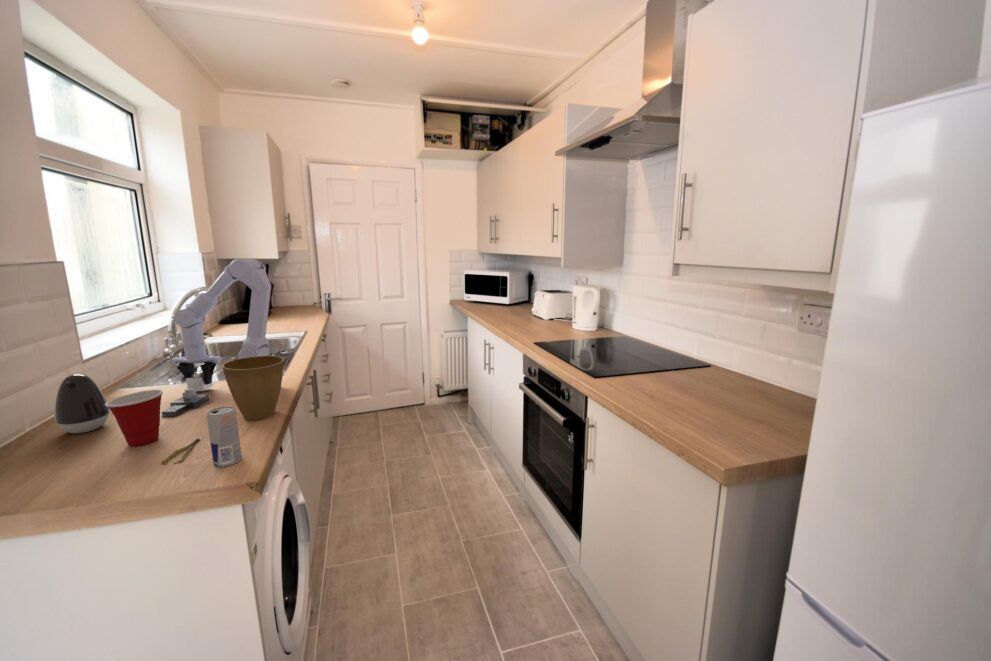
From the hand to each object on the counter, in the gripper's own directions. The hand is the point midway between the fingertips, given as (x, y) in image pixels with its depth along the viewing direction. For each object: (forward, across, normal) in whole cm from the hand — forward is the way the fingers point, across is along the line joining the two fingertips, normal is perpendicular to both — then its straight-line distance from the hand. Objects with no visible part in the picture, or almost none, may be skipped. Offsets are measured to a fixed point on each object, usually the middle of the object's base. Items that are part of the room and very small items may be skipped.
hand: (200, 383), depth 139 cm
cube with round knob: (+2, 0, 0) cm, 2 cm away
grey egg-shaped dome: (+3, +11, +30) cm, 32 cm away
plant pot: (+3, -31, +24) cm, 39 cm away
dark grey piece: (+3, -5, +16) cm, 17 cm away
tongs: (+4, -24, +45) cm, 51 cm away
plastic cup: (+3, -10, +39) cm, 40 cm away
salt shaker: (+3, +15, -18) cm, 24 cm away
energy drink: (+3, -37, +51) cm, 63 cm away
